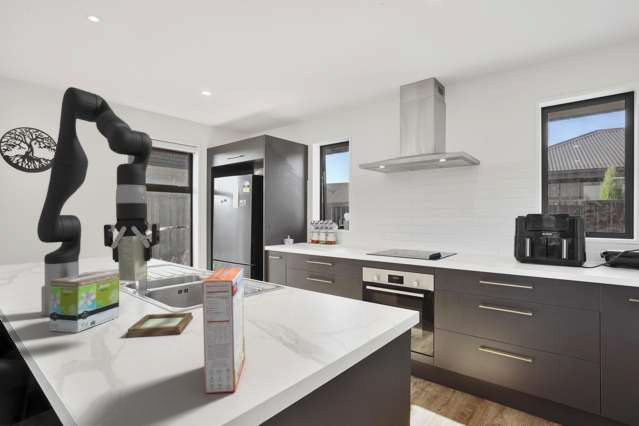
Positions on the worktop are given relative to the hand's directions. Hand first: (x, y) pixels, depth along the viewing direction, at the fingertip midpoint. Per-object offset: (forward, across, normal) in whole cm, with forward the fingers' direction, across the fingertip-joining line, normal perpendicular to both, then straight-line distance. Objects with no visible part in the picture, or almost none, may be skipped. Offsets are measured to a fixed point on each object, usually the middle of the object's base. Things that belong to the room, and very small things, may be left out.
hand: (132, 261), depth 92 cm
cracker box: (+20, -30, +27) cm, 45 cm away
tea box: (+20, +18, -11) cm, 30 cm away
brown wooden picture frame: (+20, -6, -5) cm, 21 cm away
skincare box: (+5, 0, 0) cm, 5 cm away
